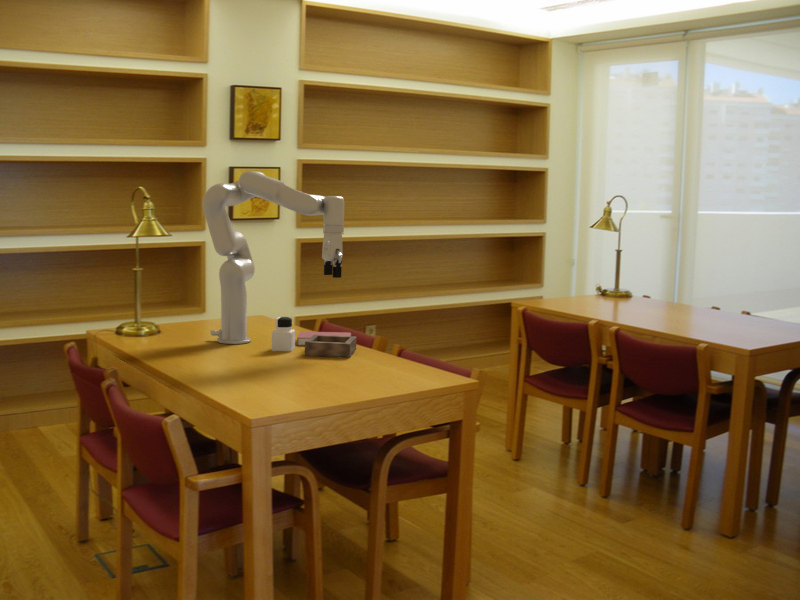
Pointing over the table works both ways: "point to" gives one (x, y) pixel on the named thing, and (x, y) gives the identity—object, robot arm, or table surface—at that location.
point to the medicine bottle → (283, 335)
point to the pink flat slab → (306, 335)
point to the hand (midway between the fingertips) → (332, 276)
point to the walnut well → (330, 346)
